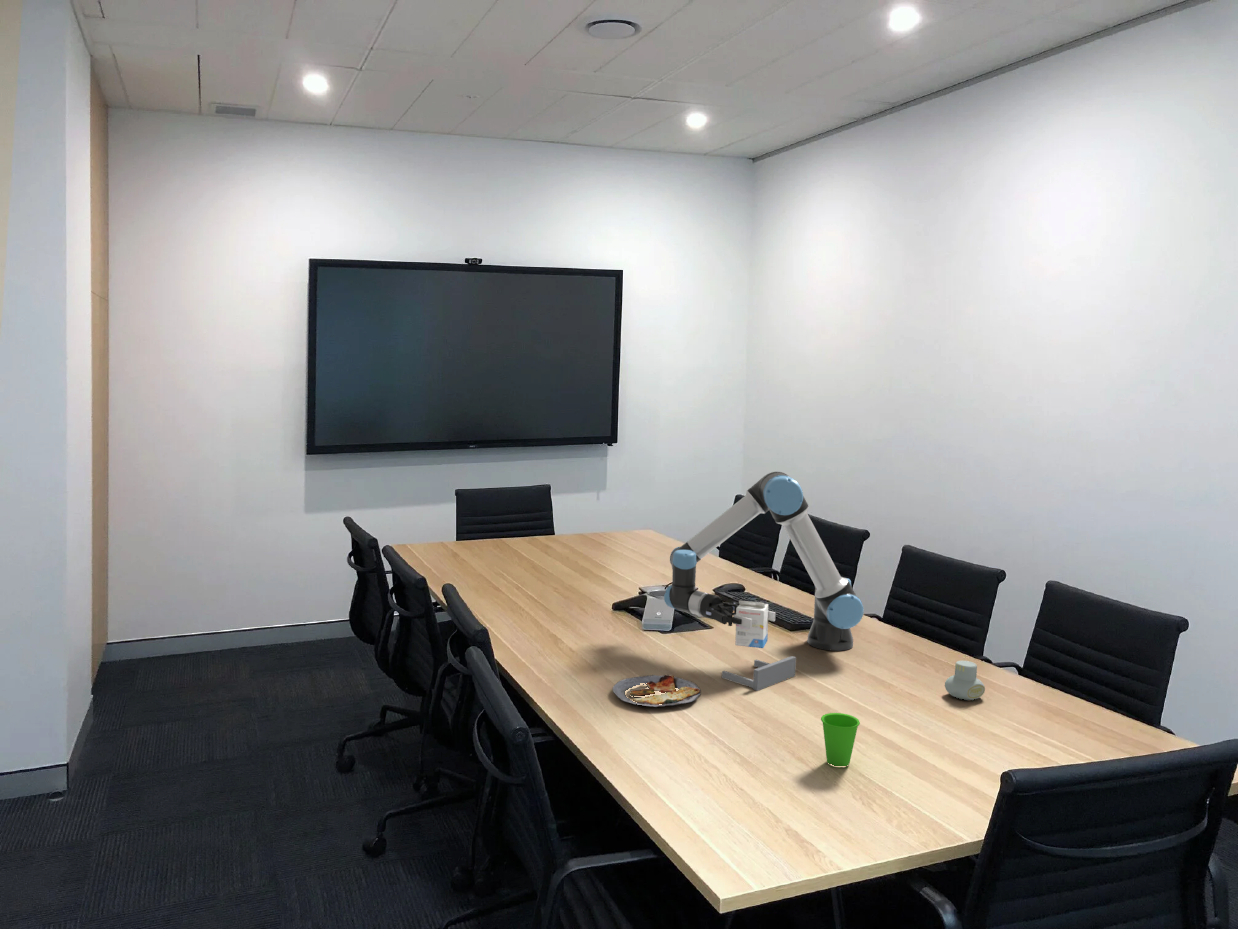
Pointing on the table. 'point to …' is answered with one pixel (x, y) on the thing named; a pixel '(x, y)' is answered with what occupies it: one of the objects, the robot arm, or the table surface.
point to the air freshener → (965, 682)
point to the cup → (839, 737)
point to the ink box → (759, 624)
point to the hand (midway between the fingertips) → (763, 620)
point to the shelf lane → (766, 673)
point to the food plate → (658, 683)
